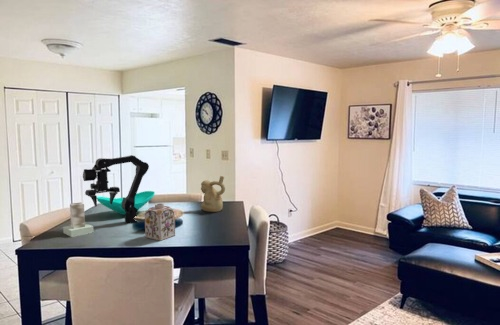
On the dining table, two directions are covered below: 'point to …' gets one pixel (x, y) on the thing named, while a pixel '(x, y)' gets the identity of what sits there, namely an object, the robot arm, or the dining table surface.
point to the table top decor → (116, 204)
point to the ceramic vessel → (212, 195)
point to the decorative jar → (159, 222)
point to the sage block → (78, 230)
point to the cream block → (77, 215)
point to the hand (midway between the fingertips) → (103, 205)
